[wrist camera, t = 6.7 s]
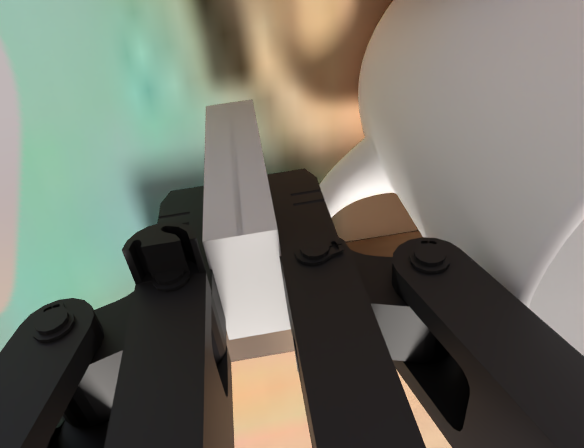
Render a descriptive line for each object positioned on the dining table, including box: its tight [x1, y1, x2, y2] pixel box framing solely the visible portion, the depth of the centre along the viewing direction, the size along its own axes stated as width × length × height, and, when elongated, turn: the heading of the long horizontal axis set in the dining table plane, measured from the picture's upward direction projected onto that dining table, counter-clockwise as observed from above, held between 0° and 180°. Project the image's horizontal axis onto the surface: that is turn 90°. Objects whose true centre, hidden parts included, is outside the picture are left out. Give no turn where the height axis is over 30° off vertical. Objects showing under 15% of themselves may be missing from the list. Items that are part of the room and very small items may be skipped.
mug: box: [320, 0, 584, 356], centre depth 12 cm, size 9×12×11 cm
